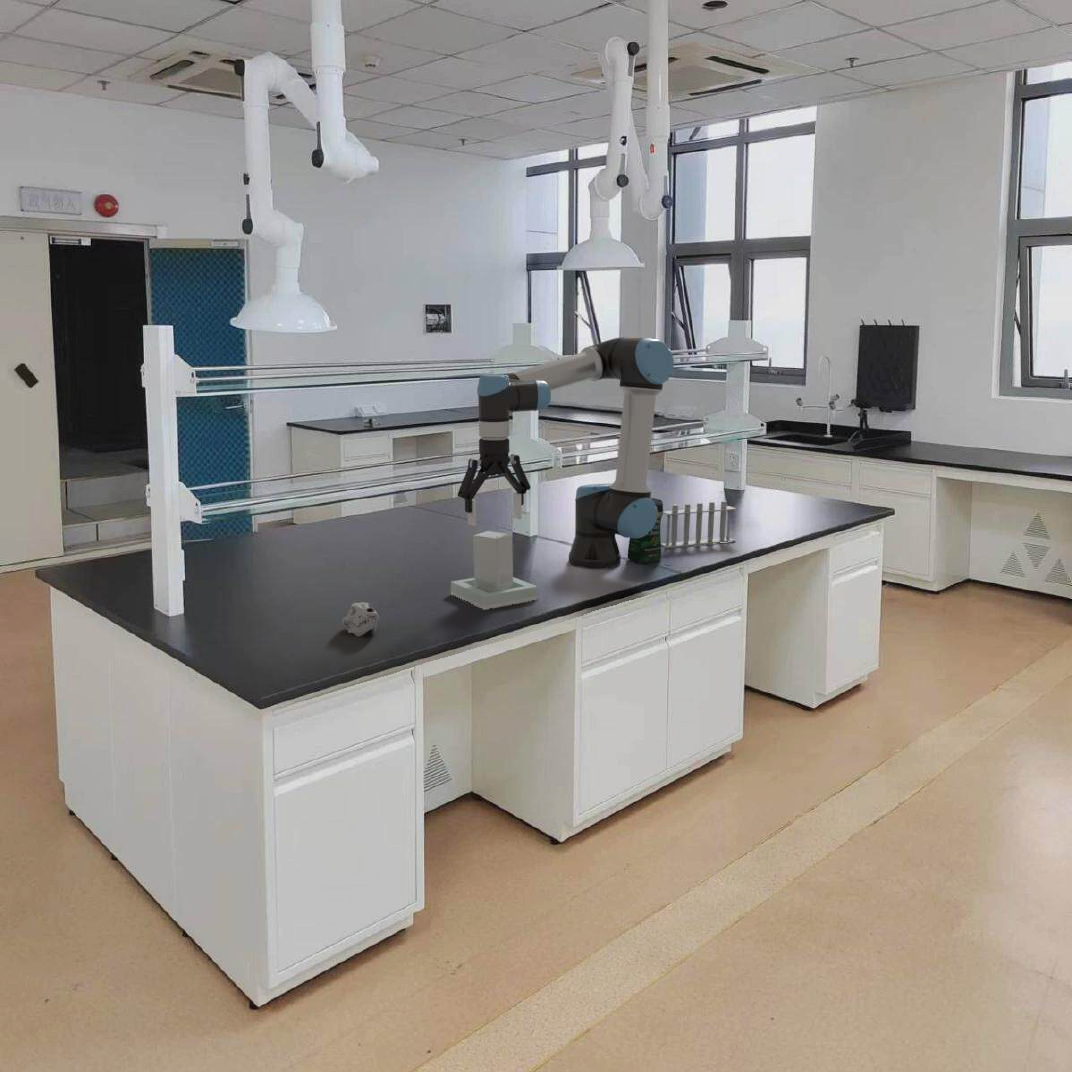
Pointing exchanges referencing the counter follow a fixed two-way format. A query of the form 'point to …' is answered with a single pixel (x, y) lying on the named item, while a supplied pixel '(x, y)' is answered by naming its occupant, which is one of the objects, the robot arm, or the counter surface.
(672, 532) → the test tube rack
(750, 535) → the counter surface
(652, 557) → the coffee jar
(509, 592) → the square shallow tray
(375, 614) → the skull
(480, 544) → the skincare box
